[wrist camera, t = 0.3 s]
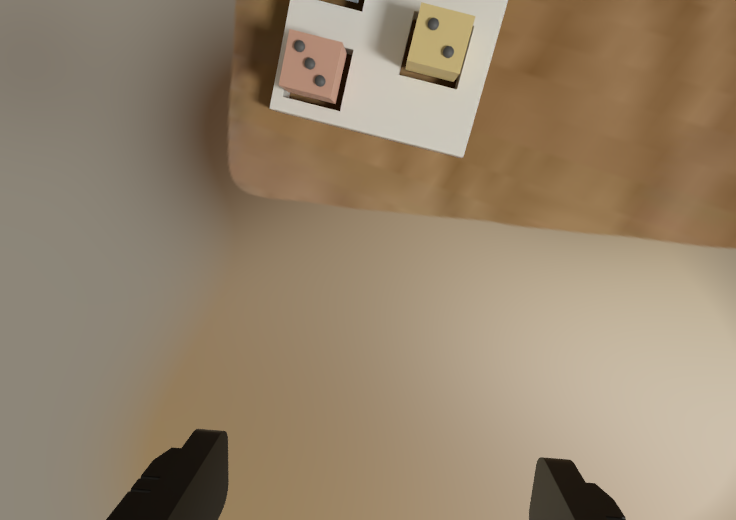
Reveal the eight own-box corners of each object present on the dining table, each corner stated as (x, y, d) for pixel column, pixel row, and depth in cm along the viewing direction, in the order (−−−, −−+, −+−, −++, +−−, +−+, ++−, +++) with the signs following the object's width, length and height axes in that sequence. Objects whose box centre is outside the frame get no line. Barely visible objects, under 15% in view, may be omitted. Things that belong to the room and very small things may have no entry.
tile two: (418, 17, 32) (421, 1, 29) (467, 29, 32) (476, 15, 29) (405, 69, 33) (407, 59, 30) (453, 82, 33) (460, 73, 30)
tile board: (312, -77, 33) (307, -92, 31) (511, -26, 33) (518, -38, 31) (276, 111, 36) (269, 108, 34) (459, 158, 36) (463, 157, 34)
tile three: (298, 40, 33) (288, 28, 30) (346, 53, 33) (342, 41, 30) (288, 92, 34) (277, 84, 31) (335, 104, 34) (329, 97, 31)
